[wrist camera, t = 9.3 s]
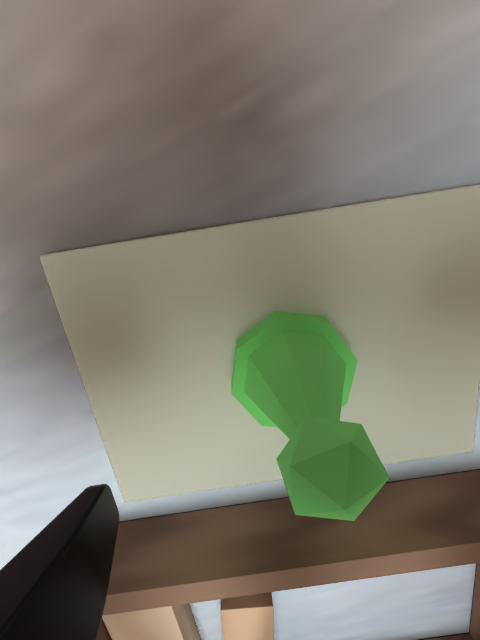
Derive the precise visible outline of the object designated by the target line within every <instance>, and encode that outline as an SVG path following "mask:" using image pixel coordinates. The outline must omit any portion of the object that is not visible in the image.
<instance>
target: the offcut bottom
mask: <svg viewBox="0 0 480 640" xmlns="http://www.w3.org/2000/svg"><path fill="white" fill-rule="evenodd" d="M102 619H103V621H104V623H105V625H106V628H107V630H108V632H109V634H110V636H111V638H112V640H201V637H200V634H199V631H198V628H197V625H196V622H195V619H194V616H193V614H192V611H191V608H190V605H189V604H182V605H175V606H167V607H160V608H153V609H146V610H139V611H132V612H125V613H118V614H111V615H104V616H102Z"/></svg>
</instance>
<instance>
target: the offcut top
mask: <svg viewBox="0 0 480 640" xmlns="http://www.w3.org/2000/svg"><path fill="white" fill-rule="evenodd" d="M221 618H222V627H223V637H224V640H274V631H273V604H272V595H271V592H267V593H260V594H252V595H245V596H238V597H231V598H224V599H221Z"/></svg>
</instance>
